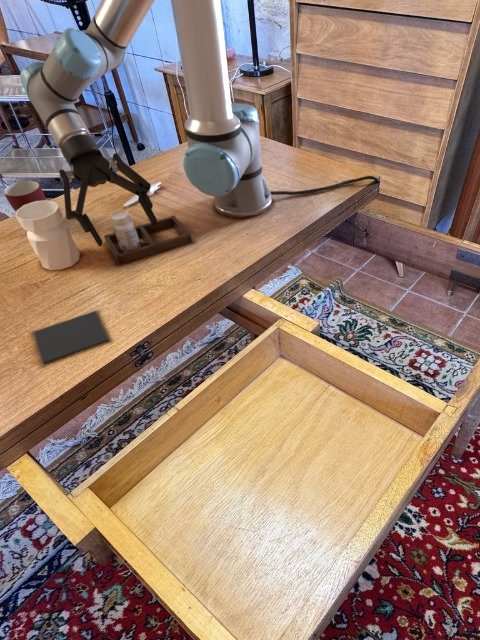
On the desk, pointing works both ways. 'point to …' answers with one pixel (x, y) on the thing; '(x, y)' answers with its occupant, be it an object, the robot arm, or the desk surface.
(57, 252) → the vase
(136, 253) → the rack
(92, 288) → the desk surface
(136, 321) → the desk surface
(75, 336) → the mat
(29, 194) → the mug
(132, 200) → the white elongated piece
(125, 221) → the pill bottle
